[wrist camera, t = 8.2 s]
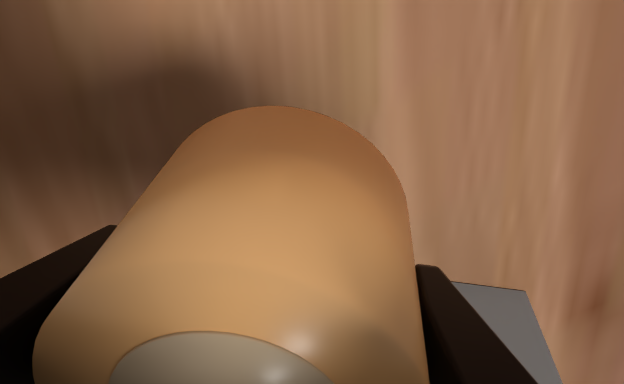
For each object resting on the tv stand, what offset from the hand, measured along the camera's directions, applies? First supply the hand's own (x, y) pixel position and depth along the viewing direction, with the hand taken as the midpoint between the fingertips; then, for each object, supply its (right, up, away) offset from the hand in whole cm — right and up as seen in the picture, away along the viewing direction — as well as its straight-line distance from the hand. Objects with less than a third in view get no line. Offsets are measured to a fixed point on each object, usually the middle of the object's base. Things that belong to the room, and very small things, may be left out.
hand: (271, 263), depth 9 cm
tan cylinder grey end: (0, +1, +1) cm, 1 cm away
